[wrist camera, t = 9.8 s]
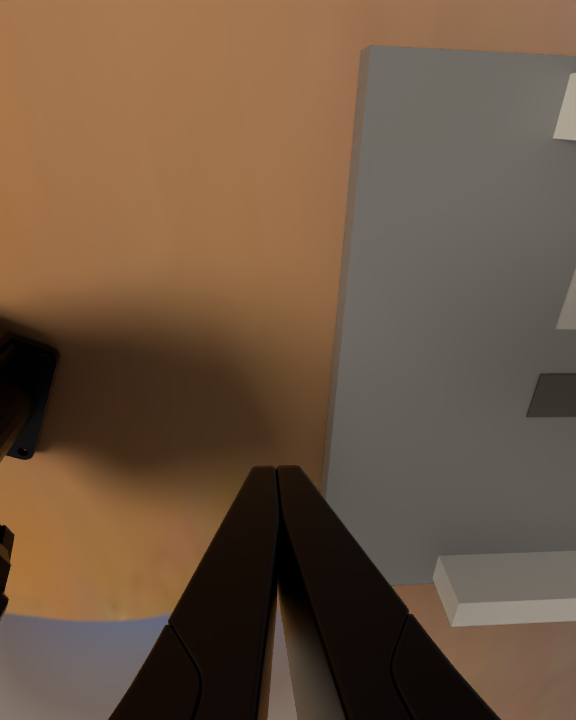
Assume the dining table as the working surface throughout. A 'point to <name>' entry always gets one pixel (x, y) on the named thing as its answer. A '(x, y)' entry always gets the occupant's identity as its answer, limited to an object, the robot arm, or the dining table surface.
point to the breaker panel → (460, 331)
